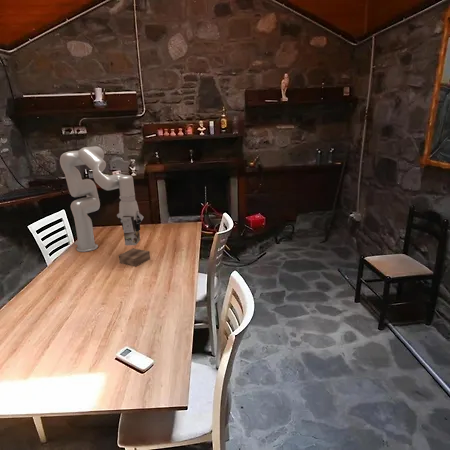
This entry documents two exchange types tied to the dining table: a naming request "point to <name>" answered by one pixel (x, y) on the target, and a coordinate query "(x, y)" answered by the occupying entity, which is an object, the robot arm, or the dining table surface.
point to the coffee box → (130, 231)
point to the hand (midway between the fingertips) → (131, 229)
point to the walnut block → (134, 257)
